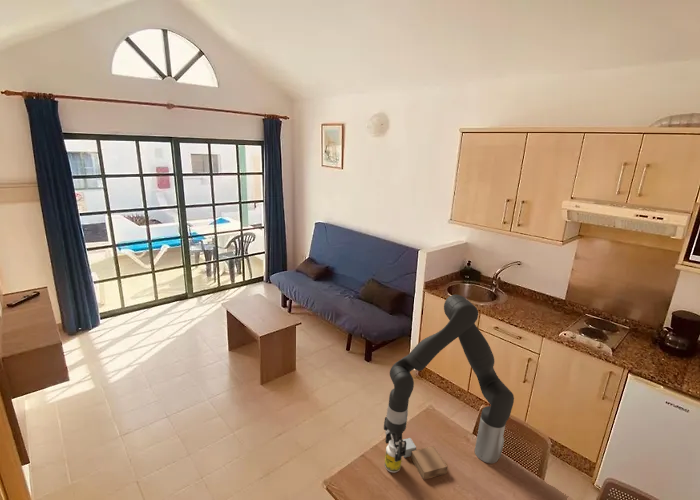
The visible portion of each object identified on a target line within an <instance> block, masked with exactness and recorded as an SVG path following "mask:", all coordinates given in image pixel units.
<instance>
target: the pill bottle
mask: <svg viewBox="0 0 700 500" xmlns="http://www.w3.org/2000/svg"><path fill="white" fill-rule="evenodd" d="M395 444H399V442H395ZM397 449H398V447H397ZM395 452H396V451H395V447H394V446H393V441H392V439H391V440H390V441H389V443H388V444H387V445H386V448H385V454H384V455H385V456H384V467H385V469H386V470H387V471H388V472H390V473H397V472H399V471H400V470H401V467H402V457H403V456H401V460H400V461H395Z"/></svg>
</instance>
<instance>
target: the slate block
mask: <svg viewBox="0 0 700 500" xmlns="http://www.w3.org/2000/svg"><path fill="white" fill-rule="evenodd" d="M402 440H403V441H406V453H405V456H402V457H403V458H404V459H405V458H408V457H411V453H412V451H415V450H417V446H416V445H415V444H416V443H414V441H413V439H412V438H411V437H408V438H402Z"/></svg>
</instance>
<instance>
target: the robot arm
mask: <svg viewBox="0 0 700 500" xmlns="http://www.w3.org/2000/svg"><path fill="white" fill-rule="evenodd" d="M443 311H444V314H445V316H446V317H447V318H448V320H449V321H448V322H447V324H446V325H445V326H444V327H443V328H441V329H440V330H439V331H437V332H436V333H433V334H431V335H429V336H427V337H426V338H424V339H422V340H421V341H419V342H418V344H416V345H415V346H414V347H413V349H412V350H411V351H410V352H409V353H408V354H407V355H405V356H403V357H402V358H401V359H399V360H398V361H396V362H395V363H394V364H392V366H391V368H390V370H389V377H390V379H391V382H392V384H393V387H394V388H392V389H391V391H390V392H389V398H388V404H387V409H386V416H385V417H384V422H383V430H384V431H385V432H384V433H385V439H384V440H385V441H384V442H385V444H386V445H389V441H390V440H391V439H392V441H393V446H394V447H395V451H396V452H395V461H400V460H401V456H402V457H403V456H405V453H406V441H403V433H404V432H405V431H406V428H407V423H408V416H409V415H408V414H409V402H410V400H409V399H410V397H411V395H412V394H413V391H414V387H415V383H414V382H415V381H414V378H413V376H412V373H411V372H412V371H413V370H416V371H417V372H421V371H423V370H424V369H425V368H426V367H427V366H428V365H429V364H430V363H431V362H432V360H434V358H435V357H436V356H437V355H438V354H439V353H440V352H441V351H442V350H443V349H445V348H446V347H447V346H449V345H450V344H451V343H452V342H454V341H455V340H456V339H457V338H458V340H459V343H460V345H461V348H462V350H463V352H464V355H465V357H466V360H467V362H468V363H469V366H470V367H471V369H472V371H473V372H474V374H475V376H476V377H477V381H478V385H479V387H480V392H481V393H482V395H483V397H484V398H485V400H486V402H488V403H489V405H488V406H485V407H483V408H482V409H481V414H480V419H479V424H478V431H477V435H476V441H475V447H474V453H475V456H476V457H477V458H478V459H479V460H480V461H482V462H484V463H486V464H495V463H497V462H498V460H500V458H501V457H502V452H503V449H504V443H505V437H504V433H505V429H506V424H507V421H508V420H509V419H510V417H511V413H512V411H513V405H514V401H515V396H514V393H513V392H512V391H511V390H510V388H508V386H507V385H506V384H505V383H504V382H503V381H502V380H501V379H500V378H499V376H498V374H497V372H496V371H495V367H494V366H495V356H494V353H493V351H492V349H491V347H490V344H489V343H488V341H487V340H486V338H485V336H484V334H483V333H482V332H481V330H480V329H479V328H478V326H477V325H476V322H477V320H478V318H479V310H478V309H477V307H476V306H475V305H474V304H473V303H472V302H471V301H470V300H469V299H467V298H466V297H464V296H463V295H460V294H452V295H449V296H448V297H447V298H446V299H445V301H444V304H443ZM395 442H399V444H395ZM397 447H398V449H397ZM401 461H402V460H401Z"/></svg>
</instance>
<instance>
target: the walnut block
mask: <svg viewBox="0 0 700 500" xmlns="http://www.w3.org/2000/svg"><path fill="white" fill-rule="evenodd" d="M410 459H411V461H412V462H413V465H414V466H415V468H416V469H417V472H418V474H419V475H420V477H421V479H422V480H429V479H432V478H435V477H438V476H439V477H441V476H443V475H446V474H448V465H447V464H446V462H445V460H444V459H443V457H442V456H441V454H440V453H439V451H438V450H437V448H436V447H435V446H434V445H432V446H428V447H427V446H426V447H424V448H421V449H419V448H418V449H416V450H415V451H412V453H411V456H410Z"/></svg>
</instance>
